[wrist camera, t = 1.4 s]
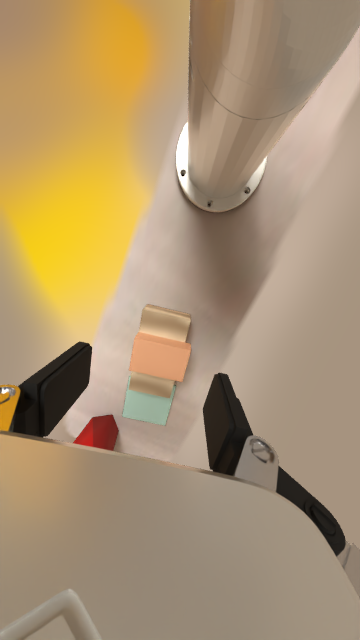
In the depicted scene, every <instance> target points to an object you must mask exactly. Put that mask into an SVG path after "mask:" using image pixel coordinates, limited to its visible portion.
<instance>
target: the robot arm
mask: <svg viewBox="0 0 360 640" xmlns="http://www.w3.org/2000/svg"><path fill="white" fill-rule="evenodd" d="M359 26H360V0H190V19H189V74H188V75H189V76H188V121H187V123H186V124H185V126H184V128H183V130H182V132H181V135H180V137H179V141H178V145H177V151H176V169H177V176H178V179H179V183H180V185H181V188H182V190H183V192H184V193H185V195H186V196H187V197H188V199H189V200H190V201H191V202H192V203H193V204H195V205H196V206H198V207H199V208H201V209H203V210H206V211H209V212H225V211H228V210H231V209H234V208H235V207H237V206H239V205H241V204H242V203H243V202H244V201H245V200H247V199H248V198H249V197H250V195H251V194H252V193H253V192H254V190H255V189H256V188H257V186H258V184H259V182H260V180H261V178H262V176H263V173H264V170H265V167H266V162H267V155H268V154H269V152H270V151H271V150H272V148H273V147H274V146H275V144H276V143H277V142H278V140H279V139H280V138H281V136H282V135H283V134H284V132H285V131H286V130H287V128H288V127H289V126H290V124H291V123H292V122H293V120H294V119H295V118H296V116H297V115H298V114H299V112H300V111H301V110H302V108H303V107H304V106H305V104H306V103H307V102H308V100H309V99H310V98H311V96H312V95H313V94H314V92H315V91H316V89H317V88H318V87H319V85H320V84H321V83H322V81H323V80H324V78H325V77H326V76H327V74H328V73H329V72H330V70H331V69H332V68H333V66H334V65H335V64H336V62H337V61H338V60H339V58H340V57H341V55H342V54H343V52H344V51H345V49H346V48H347V46H348V45H349V43H350V41H351V40H352V38H353V37H354V35H355V33H356V32H357V30H358V28H359ZM182 174H184V175H185V176H184V177H182ZM244 191H246V192H247V194H245V192H244ZM208 204H211V206H210V207H209V206H208ZM91 355H92V347H91V346H90V344H89V343H84V342H78V343H76V344H75V345H74V346H72V347H71V348H70V349H68V350H67V351H65V352H64V353H63V354H61V355H60V356H59V357H57V358H56V359H55V360H53V361H52V362H50V363H49V364H48V365H46V366H45V367H44V368H42V369H41V370H39V371H38V372H37V373H35V374H34V375H32V376H31V377H30V378H28V379H27V380H26V381H24V382H23V383H22V384H20V385H19V386H18V387H17V386H15V385H9V384H8V385H0V640H360V550H359V549H358V548H357V547H356V545H354V543H352V545H350V544H349V543H348V542H347V541H346V540H345V536H344V534H343V531H342V529H341V528H340V525H339V524H338V522H337V520H336V519H335V518H334V517H333V515H332V514H331V513H330V512H329V511H328V510H327V509H326V508H325V507H324V506H323V505H322V504H321V503H320V502H319V501H318V500H317V499H316V498H314V497H313V496H312V495H311V494H310V493H308V492H307V491H306V490H305V489H304V488H303V487H302V486H301V485H300V484H299V483H298V482H296V481H295V480H294V479H293V478H292V477H291V476H289V475H288V474H287V473H286V472H285V471H284V470H283V469H282V468H281V467H279V466H278V464H279V460H278V456H277V453H276V451H275V450H274V448H273V447H272V446H271V445H270V444H269V443H268V442H267V441H266V440H264V439H262V438H261V437H258V436H253V433H252V431H251V428H250V426H249V423H248V421H247V418H246V416H245V413H244V411H243V408H242V406H241V403H240V401H239V399H238V398H236V395H235V393H234V390H233V387H232V385H231V382H230V379H229V377H228V375H227V374H223V373H218V374H215V375H214V378H213V381H212V384H211V387H210V389H209V392H208V395H207V398H206V401H205V404H204V407H203V415H204V425H205V432H206V441H207V450H208V458H209V466H210V469H212V470H213V472H212V471H207V470H203V469H198V468H194V467H189V466H184V465H179V464H174V463H170V462H165V461H160V460H155V459H150V458H145V457H140V456H135V455H130V454H125V453H120V452H115V451H110V450H105V449H100V448H95V447H89V446H84V445H79V444H74V443H69V442H63V441H58V440H53V439H48V438H43V437H44V436H48V435H49V434H50V432H51V431H52V430H53V429H54V427H55V426H56V425H57V424H58V422H59V421H60V420H61V419H62V418H63V416H64V415H65V414H66V413H67V411H68V410H69V409H70V408H71V406H72V405H73V404H74V403H75V401H76V400H77V399H78V398H79V396H80V395H81V394H82V393H83V391H84V390H85V389H86V388H87V386H88V384H89V377H90V366H91Z"/></svg>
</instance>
